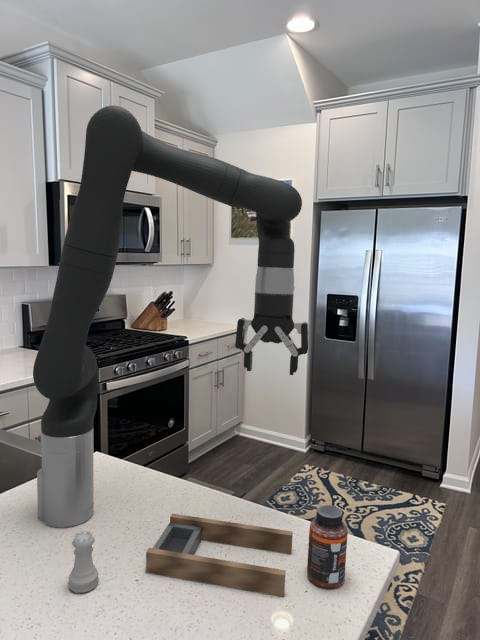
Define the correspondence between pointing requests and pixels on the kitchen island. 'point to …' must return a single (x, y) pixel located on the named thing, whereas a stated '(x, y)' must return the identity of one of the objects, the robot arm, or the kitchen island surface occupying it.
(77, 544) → the rook chess piece
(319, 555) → the supplement bottle
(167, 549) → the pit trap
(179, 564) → the walnut channel
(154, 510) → the kitchen island surface
